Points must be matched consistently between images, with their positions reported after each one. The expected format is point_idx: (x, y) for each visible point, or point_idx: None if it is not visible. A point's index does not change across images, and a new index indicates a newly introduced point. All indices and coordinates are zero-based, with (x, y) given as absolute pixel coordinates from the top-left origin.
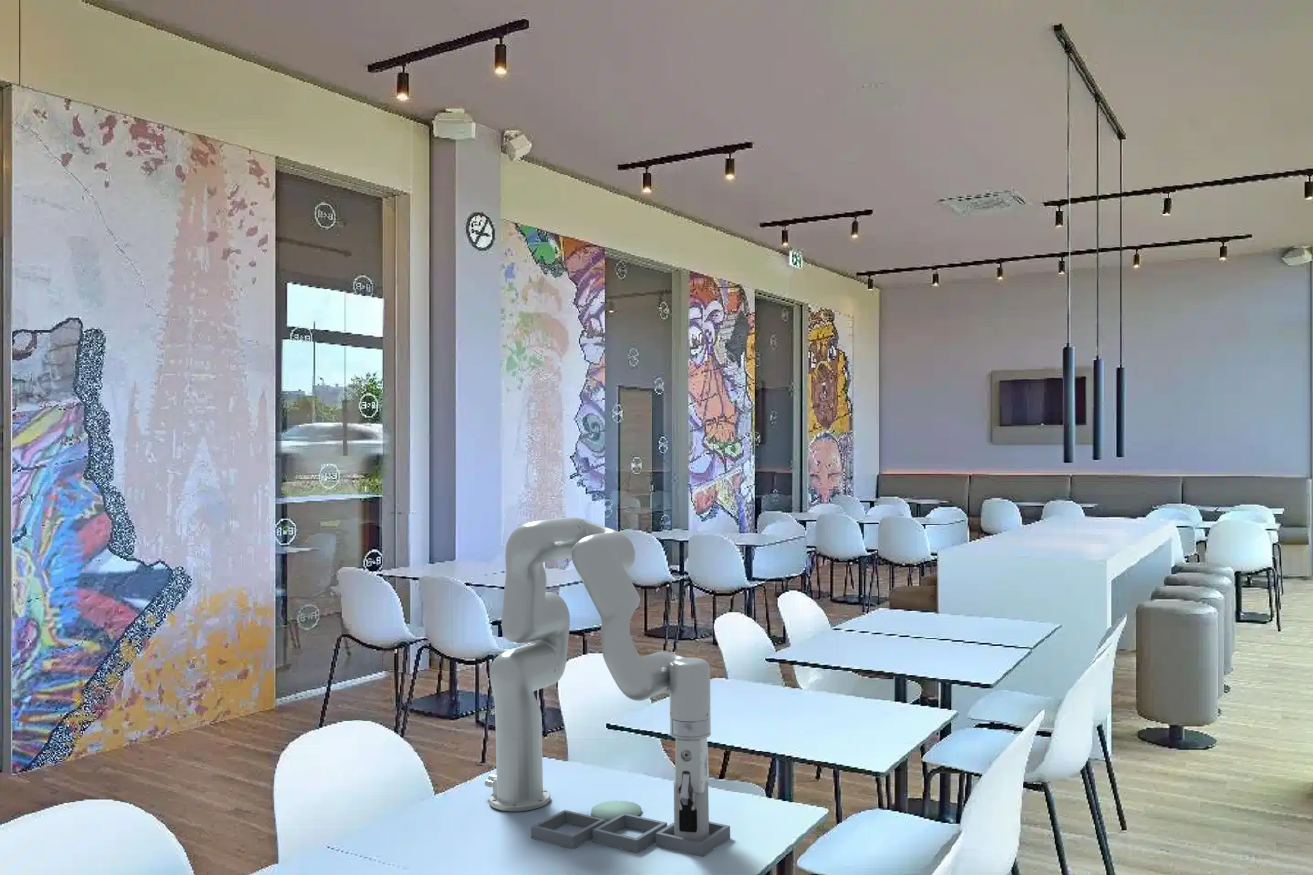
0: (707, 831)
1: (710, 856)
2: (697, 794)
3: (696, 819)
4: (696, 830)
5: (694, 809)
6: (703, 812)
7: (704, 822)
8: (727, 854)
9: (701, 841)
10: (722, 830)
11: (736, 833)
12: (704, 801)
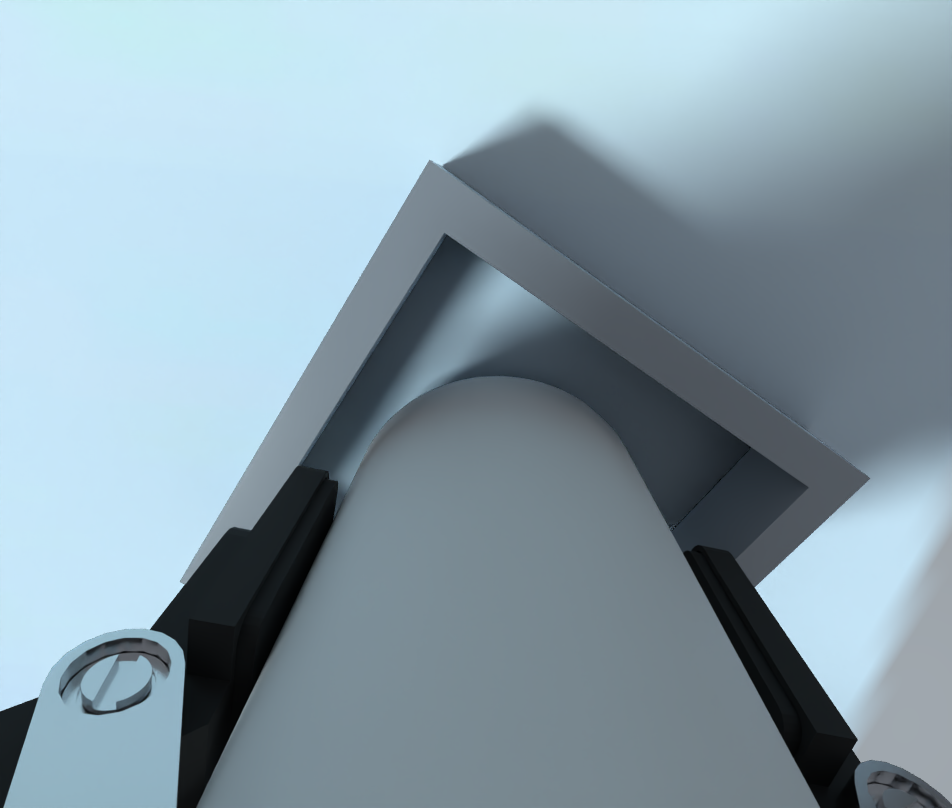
0: (576, 415)
1: (820, 374)
2: None
3: (781, 634)
4: (731, 555)
5: (864, 775)
6: (691, 582)
7: (644, 496)
8: (818, 228)
9: (804, 482)
10: (558, 261)
11: (330, 88)
12: (734, 693)
